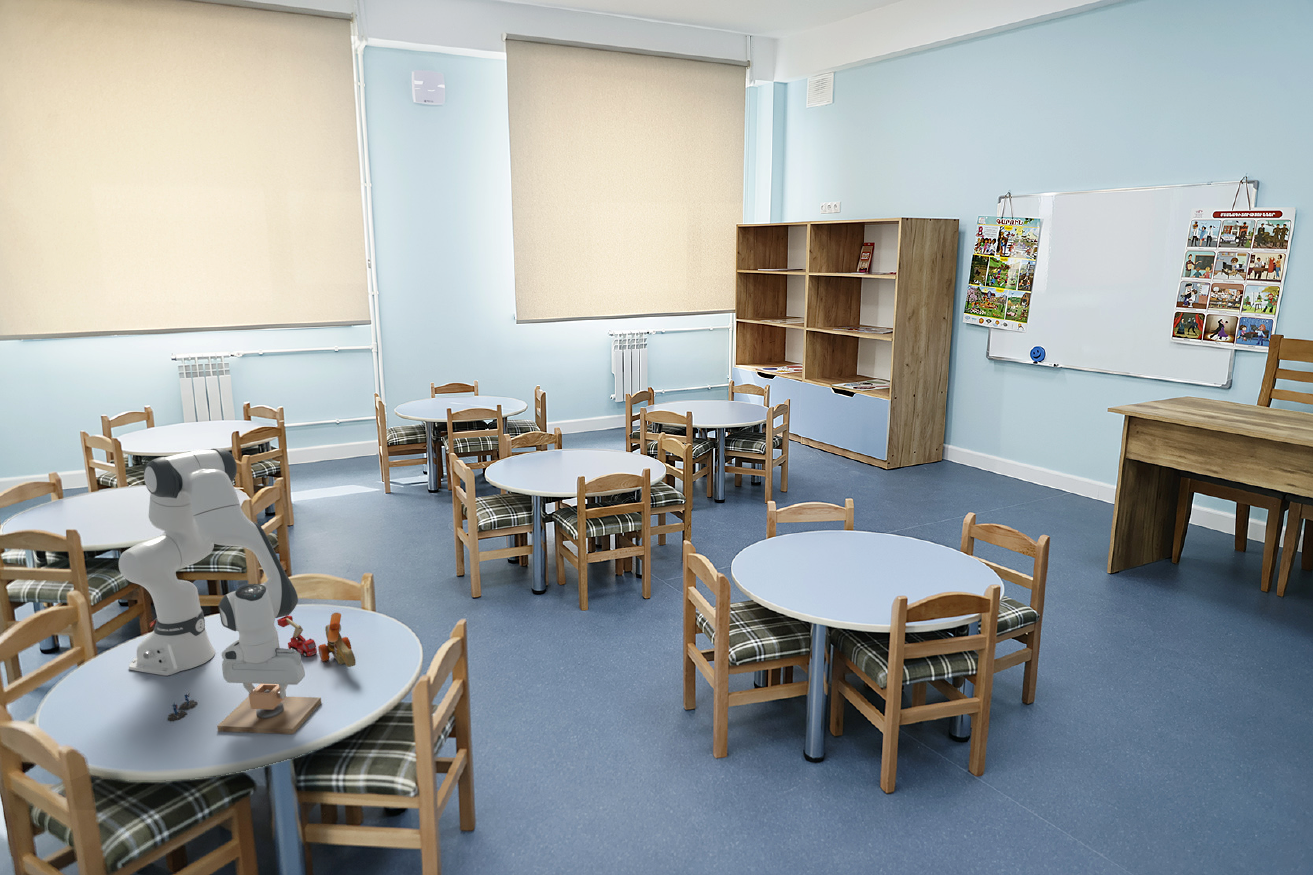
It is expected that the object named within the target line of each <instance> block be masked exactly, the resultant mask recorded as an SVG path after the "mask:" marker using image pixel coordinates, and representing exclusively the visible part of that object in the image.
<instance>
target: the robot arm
mask: <svg viewBox="0 0 1313 875" xmlns="http://www.w3.org/2000/svg"><path fill="white" fill-rule="evenodd" d="M237 473H238V466H237V461H236V459H235V456H234V455H233V454H232V453H231V451H229V450H227V449H225V448H224V449H223V448H211V449H199V450H190V451H186V452H181V453H176V454H172V455H168V456H160V457H157V458H154V459H151V460H150V461H148V462H147V463H146V465H145V466H144V469H143V480H144V484H145V487H146V489H147V490H148V492H149V494H150V495H149V506H148V519H149V521H150V523H151V525H152V526H153V527H155V529H158V530H161V531H163V533H162V534H160V535H159V536H156V537H153V538H150V539H147V540H144V541H142V542H138V543H136V544H135V545H133V546H131V547H130V548H127V549H126V550H125V551H123V552H122V553H121V554H120V557H119V559H118V569H119V572H120V574H121V576H122V577H124V579H125V580H127V581H128V582H131V583H133V584H137V585H139V586H141V587H143V588H144V589H146V591H147V592H148V593H149V594H150V596H151V600H152V601H153V606H154V608H155V613H156V618H154V620H153V621H151V622H150V623H149V625H150V626H149V627H150V628H152V627H153V626H154V628H153V631H152V632H150V633H149V634H148V635H147V636H145V638H144V639H143V640H141V641H140V642H139V644H138V646H137V647H136V657H134V658H133V659H132V660H131V662H129V665H128V670H130V671H135V672H142V673H146V674H147V673H148V674H155V675H159V676H171V675H174V674H176V673H179V672H182V671H187V670H189V669H193V668H196V667H198V666H201V665H203V664H206V663H207V662H208V661H209V660H212V659H213V658H214V656H215V654H216V651H215V649H214V647H213V645H212V643H211V641H210V638H209V636H208V633H207V630H206V623H205V622H206V619H205V616H204V611H203V609H202V608H201V602H200V596H199V591H198V588H197V587H196V585H195V584H194V583H192V582H190V581H189V580H184V579H178V577H177V575H176V572H177V571H179V570H182V569H184V568H186V567H188V566H191V565H194V564H196V563H198V562H200V561H201V560H203V559H204V558H206V557H208V556H209V555H211V554H212V552H213V551H214V546H215V545H219V546H227V547H228V546H229V547H239V548H244V549H247V550H249V551H251V552H253V554H254V556H255V557H256V559H257V561H258V562H259V564H260V567H261V569H262V571H263V573H264V575H265V577H266V579H267V580H266V581H265V582H263V583H249V584H245V585H242V586H241V587H238V588H237V589H236V590H235V591H234V590H233V591H231V592H228V593H227V594H226V593H225V595H223V597H222V598H221V599H220V602H219V603H218V611H219V616H220V617H219V618H220V622H221V625H222V626H223V627H224V628H226V629H228V630H231V631H233V632H238V634H239V638H238V639H237V640H235V641H234V642H233V643H231V644H230V645H228V647H226V648H225V649H224V650H223V651H222V652H221V658H222V659H223V660H222V662H221V669H222V676H223V680H224V681H225V682H226V683H228V684H242V686H243V687H244V689H245V690H246V691H247V692H248V695H249V694H250V693H251V692H252V691H253V690H254V689H255V688H256V687H255V686H254V684H259V685H260V684H279V687H281V689H280V690H279V691H278V692H277V693H276V694H277V698H281V699H283V698H284V697H285V696H286V697H287V693H286V690H287V687H288V686H289V685H295V686H296V685H298V684H299V683H300V682H302V680H303V679H305V677H306V672H305V668H304V665H303V660H302V654H300V653H298V652H297V651H295V650H294V649H289V648H283V647H280V640H279V634H278V630H277V629H276V626H275V622H276V619H280V618H283V617H285V616H290V615H291V614H292V613H293V611H294V610H295V609H296V607H297V605H298V603H299V598H298V593H297V592H298V591H297V590H296V587H295V586H294V585H293V583H292V581H291V580H290V578H289V576H288V575H287V573H286V571H285V569H284V567H283V565H282V562H281V561H280V559H279V557H278V555H277V553H276V551H275V548H274V547H273V545H272V542H271V541H270V539H269V537H268V536H267V534H266V531H265V530H264V528H263V527H262V526H261V525H260V524H259V522H254V521H252V520H251V519H250V518H248V517H247V515H246V514H245V512H244V511H243V510H242V506H241V503H240V500H239V497H238V494H237V492H236V489H235V486H234V484H233V482H234V481H235V479H236V477H237Z"/></svg>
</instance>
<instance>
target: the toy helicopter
mask: <svg viewBox="0 0 1313 875" xmlns="http://www.w3.org/2000/svg"><path fill="white" fill-rule="evenodd" d="M341 618H342V613H340V612H333V613H331V615H330V622H329V624H328V625H326V626H325V628H324V629H325V630H324V631H325V636H326V640H327V642H326V643H327V644H326V643H323V644H319V646H318V649H317V651H318V654H319V658H320V659H321V661H322V662H326V661H329V660H330V658H331V656H330V653H331V654H332V655H333V657H334V659H336V661H337V663H338V665H343V664H345V665H346V667H348V668H351V667H354V666H356V663H357V662H356V656H355V654H354V652H353V650H352V645H351V640H350V639H349V637H348V636H344V637H342V636H341V631H342V625H341Z"/></svg>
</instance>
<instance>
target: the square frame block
mask: <svg viewBox="0 0 1313 875" xmlns="http://www.w3.org/2000/svg"><path fill="white" fill-rule="evenodd" d="M280 689H281V687H279V684H259V685H257V686H256V687H255V689H254V690H253V691H252V692H251V693H250V694H249V693H248V696H249V700H250V706H251V709H271V710H273V709H274V708H275V707H276V706H277V705H278V704H279V703H280V702H281V701H282V700H283V699H284V698H285V697H287V695H286V696H285V697H284V698H283V699H281V698H277V694H276V693H277V692H278V691H279V690H280ZM265 690H271V692H269V693H263V692H264V691H265Z"/></svg>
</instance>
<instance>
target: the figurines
mask: <svg viewBox="0 0 1313 875" xmlns="http://www.w3.org/2000/svg"><path fill="white" fill-rule="evenodd" d="M190 694H191V692H189V693H185V694H184V700H185V701H184V702H183V703H182V704H181V705H179V708H178V705H177V703H175V702H173V704H172V710H173V712H171V713H170V714H169V715H167V718H166V720H167V721H168V722H170V723H172V722H175V721H179V720H181V719H184V718H185V717H186V716H187V715H188V712H187V711H190V710H193V709H194V708H196V707H197V705H198V702H197V701H195V700H194V699H192V700H189V698H190ZM178 710H179V711H178Z"/></svg>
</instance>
